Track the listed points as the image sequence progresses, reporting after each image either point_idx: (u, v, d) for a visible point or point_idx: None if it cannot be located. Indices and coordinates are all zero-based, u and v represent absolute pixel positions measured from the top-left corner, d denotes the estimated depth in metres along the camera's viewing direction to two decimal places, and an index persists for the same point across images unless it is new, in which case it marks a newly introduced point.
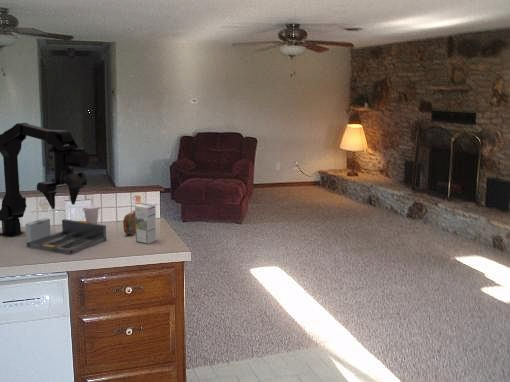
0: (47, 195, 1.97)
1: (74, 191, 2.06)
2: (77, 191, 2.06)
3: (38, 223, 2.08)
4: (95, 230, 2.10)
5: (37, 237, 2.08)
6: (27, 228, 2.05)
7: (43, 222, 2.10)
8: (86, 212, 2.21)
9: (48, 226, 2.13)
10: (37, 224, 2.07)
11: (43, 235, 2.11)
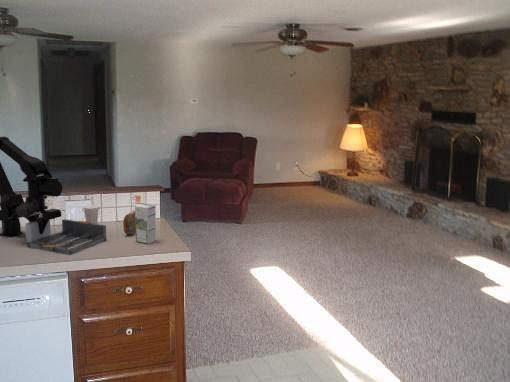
0: None
1: None
2: (39, 222, 2.07)
3: (38, 223, 2.08)
4: (95, 230, 2.10)
5: (37, 237, 2.08)
6: (27, 228, 2.05)
7: None
8: (86, 212, 2.21)
9: (48, 226, 2.13)
10: (37, 224, 2.07)
11: (43, 235, 2.11)
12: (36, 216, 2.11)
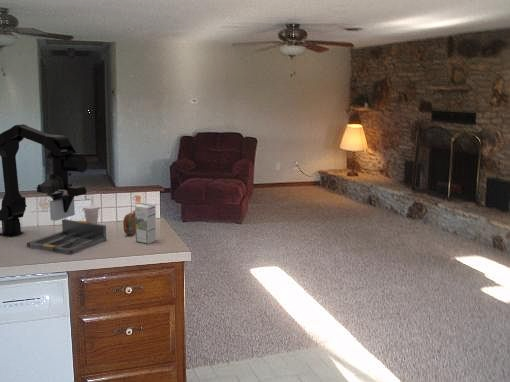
0: None
1: None
2: (64, 200, 2.00)
3: (62, 201, 2.01)
4: (95, 230, 2.10)
5: (61, 215, 2.01)
6: (51, 205, 1.98)
7: None
8: (86, 212, 2.21)
9: (72, 204, 2.06)
10: (61, 202, 2.01)
11: (67, 213, 2.04)
12: (60, 194, 2.04)
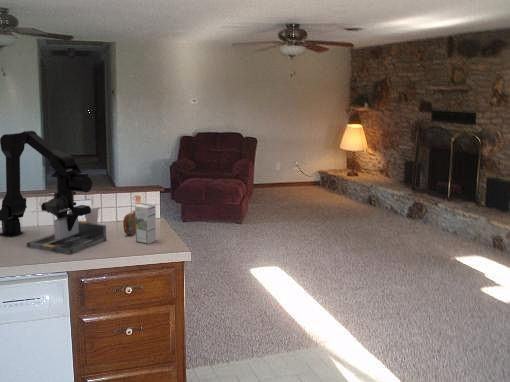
0: None
1: None
2: (68, 219, 2.01)
3: None
4: (95, 230, 2.10)
5: (65, 234, 2.02)
6: (56, 224, 1.99)
7: None
8: None
9: (76, 222, 2.07)
10: (66, 220, 2.01)
11: (71, 232, 2.05)
12: (64, 213, 2.05)
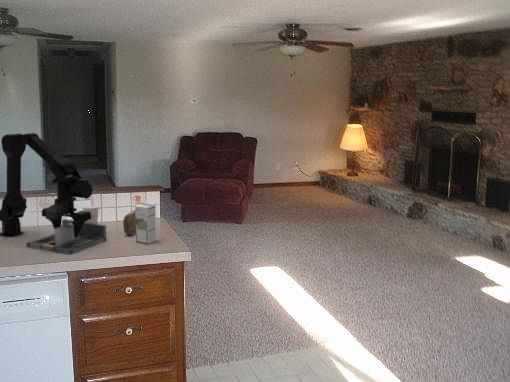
0: None
1: None
2: (74, 225, 2.00)
3: (67, 228, 2.02)
4: (95, 230, 2.10)
5: (66, 242, 2.03)
6: (56, 233, 2.00)
7: (72, 226, 2.05)
8: None
9: None
10: (66, 229, 2.02)
11: None
12: (59, 217, 2.06)
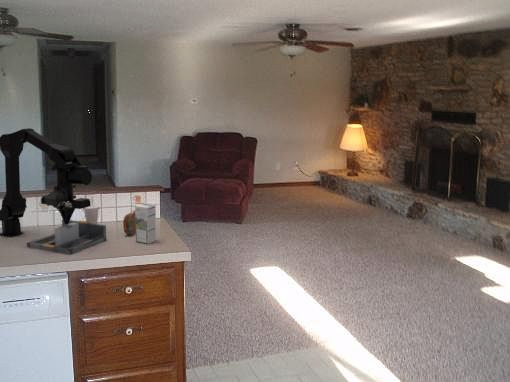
0: None
1: None
2: (65, 211, 2.01)
3: (67, 228, 2.02)
4: (95, 230, 2.10)
5: (66, 242, 2.03)
6: (56, 233, 2.00)
7: (72, 226, 2.05)
8: (86, 212, 2.21)
9: (77, 231, 2.07)
10: (66, 229, 2.02)
11: None
12: None
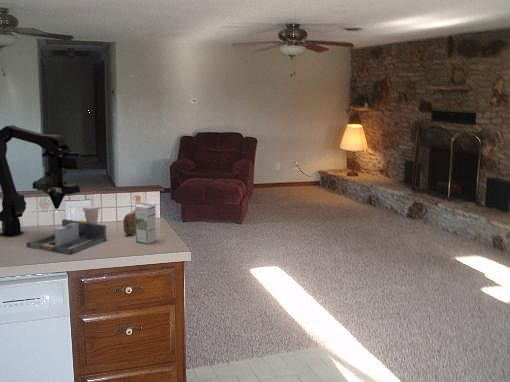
0: None
1: None
2: (55, 197, 2.07)
3: (67, 228, 2.02)
4: (95, 230, 2.10)
5: (66, 242, 2.03)
6: (56, 233, 2.00)
7: (72, 226, 2.05)
8: (86, 212, 2.21)
9: (77, 231, 2.07)
10: (66, 229, 2.02)
11: None
12: None
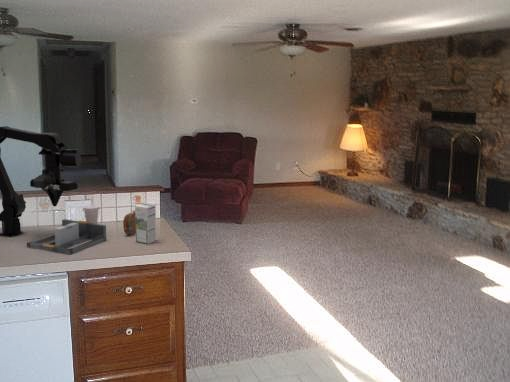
0: None
1: None
2: (53, 194, 2.10)
3: (67, 228, 2.02)
4: (95, 230, 2.10)
5: (66, 242, 2.03)
6: (56, 233, 2.00)
7: (72, 226, 2.05)
8: (86, 212, 2.21)
9: (77, 231, 2.07)
10: (66, 229, 2.02)
11: None
12: None
